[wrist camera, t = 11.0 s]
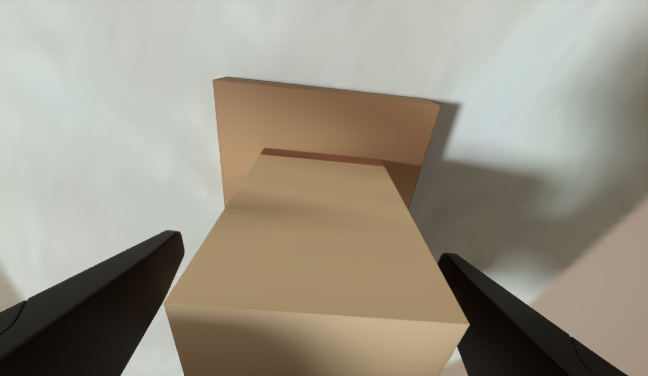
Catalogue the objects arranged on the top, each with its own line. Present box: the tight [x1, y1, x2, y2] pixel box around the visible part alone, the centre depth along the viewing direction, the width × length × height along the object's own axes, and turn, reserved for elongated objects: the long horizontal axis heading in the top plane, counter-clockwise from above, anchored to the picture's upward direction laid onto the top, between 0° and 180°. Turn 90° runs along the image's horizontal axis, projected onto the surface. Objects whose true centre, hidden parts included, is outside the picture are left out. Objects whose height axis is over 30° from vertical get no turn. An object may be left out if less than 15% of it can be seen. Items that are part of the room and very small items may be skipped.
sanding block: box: [164, 148, 470, 376], centre depth 7 cm, size 6×4×6 cm, turn 174°
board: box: [213, 77, 441, 209], centre depth 12 cm, size 16×7×1 cm, turn 174°
